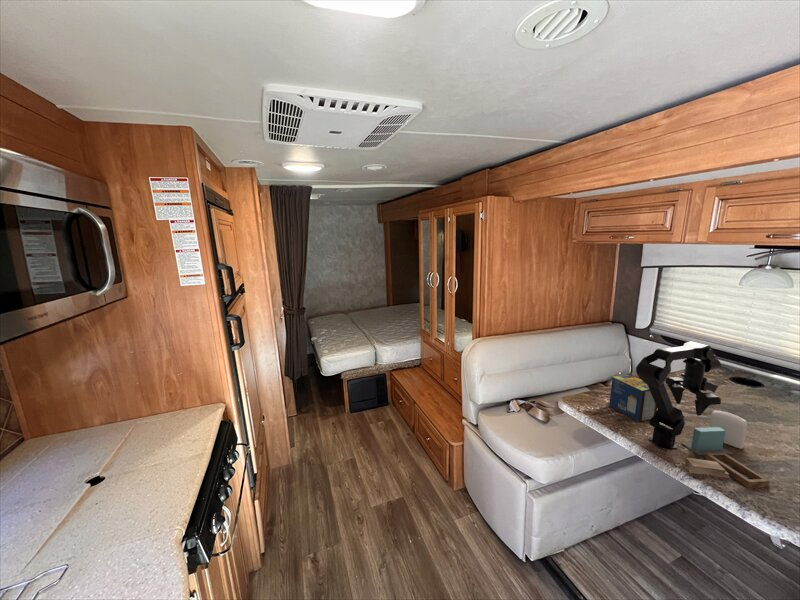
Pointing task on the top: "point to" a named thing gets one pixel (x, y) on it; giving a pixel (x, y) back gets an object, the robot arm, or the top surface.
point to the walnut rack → (757, 479)
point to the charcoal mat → (703, 452)
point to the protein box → (632, 397)
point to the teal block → (708, 438)
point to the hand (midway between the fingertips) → (688, 409)
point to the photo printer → (730, 427)
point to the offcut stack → (705, 467)
